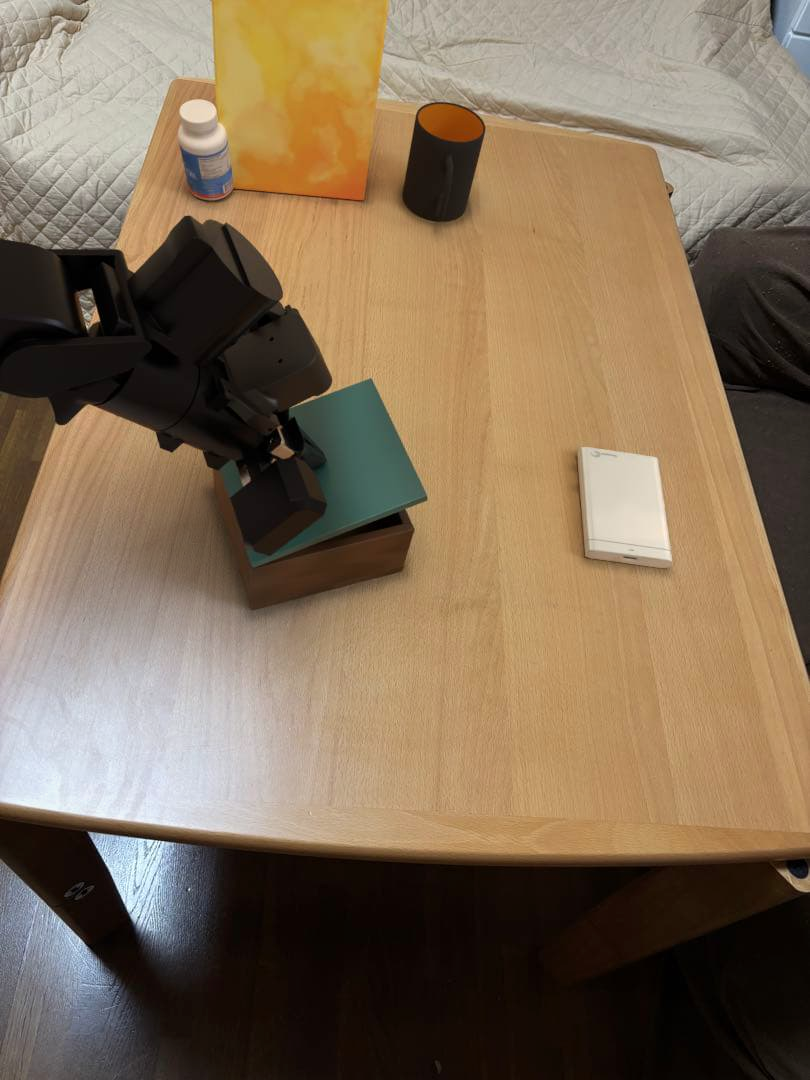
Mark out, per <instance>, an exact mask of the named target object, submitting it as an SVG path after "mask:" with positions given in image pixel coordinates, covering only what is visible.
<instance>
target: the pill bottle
mask: <svg viewBox="0 0 810 1080" xmlns="http://www.w3.org/2000/svg"><path fill="white" fill-rule="evenodd" d="M178 110H179V111H178V112H179V119H180V126H179V127H178V130H177V139H178V140H177V141H178V145H179V151H180V154H181V159H182V164H183V168H184V174H185V178H186V182H187V187H188V189H189V192H190V193H191V194H192V195H193V196H194V197H196V198H198V199H200V200H203V201H217V200H218V201H219V200H222V199H224V198H225V197H227V196H228V195H230V194H231V193H232V191H233V186H234V179H233V173H232V167H231V160H230V153H229V146H228V139H227V133H226V130H225V128H224V126H223V125H222V124H220V123H218V116H217V110H216V105H215V104H213V103H212V102H210V101H209V100H206V99H199V98H197V99H191V100H188V101H186V102H184V103H183V104H181V106H180V107H179V109H178Z"/></svg>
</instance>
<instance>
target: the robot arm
mask: <svg viewBox="0 0 810 1080" xmlns="http://www.w3.org/2000/svg"><path fill="white" fill-rule="evenodd" d="M89 289H91V292H92V296H93V301H94V303H95V307H96V311H97V316H98V318H99V319H98V320H99V321H96V322H93V323H92V324H91V325H90V326H89V327H88V328H87V324H86V320H85V317H84V313H83V309H82V304H81V301H80V296H79V292H82V291H86V290H89ZM283 298H284V292H283V287H282V284H281V282H280V280H279V278H278V276H277V274H276V273H275V271H274V270H273V268H272V266H271V265H270V264H269V262H268V261H267V260H266V259H265V257H264V256H263V255H262V253H261V252H260V251H259V250H258V249H257V247H256V246H254V244H252V243H251V241H249V239H248V238H246V237H245V236H244V235H243V234H242V233H241V232H240V231H239V230H238V229H236V228H235V227H234V226H232V225H231V224H229V223H228V222H225V223H224V224H223V223H221V222H220V221H217V220H216V219H212V218H211V219H210V218H209V219H206V220H204V222H203V223H202V222H200V221H199V220H197V219H196V218H194V217H193V216H192V215H184V216H183V217H182V218H181V219H180V220H179V221H178V222H177V223H176V224H175V225H174V226H173V228H171V230H170V231H169V233H168V235H167V236H166V238H165V239H164V241H163V242H162V244H160V246H158V248H157V249H156V250H155V251H154V252H153V253H152V254H151V255H150V256H149V257H148V259H146V260H145V261H144V263H142V264H141V266H139V268H137V269H136V270H135V272H134V271H132V270H130V269H129V266H128V264H127V260H126V256H125V254H124V252H123V251H122V250H120V249H117V248H114V249H112V248H111V249H108V248H102V249H101V248H45V247H42V246H40V245H36V244H33V243H28V242H22V241H16V240H10V239H4V238H0V393H2V394H5V395H9V396H14V397H18V398H25V399H26V398H27V399H42V398H47V400H48V401H49V404H50V406H51V409H52V410H51V411H52V415H53V419H54V423H55V424H56V425H58V426H65V425H68V424H69V423H70V422H71V421H72V420H73V419H74V418H75V417H76V416H77V415H78V414H79V413H80V412H81V411H82V410H83V409H84V408H85V407H87V406H88V405H90V406H92V407H95V408H97V409H99V410H102V411H104V412H107V413H109V414H112V415H114V416H117V417H119V418H121V419H124V420H126V421H129V422H131V423H134V424H136V425H137V426H141V427H143V428H146V429H148V430H149V431H150V430H151V431H153V432H155V436H156V439H157V443H158V446H159V449H162V450H164V451H166V452H169V453H171V454H173V453H174V452H175V451H177V449H179V448H180V447H181V446H182V445H183V444H184V445H187V446H188V447H189V446H190V447H191V448H194V449H196V450H198V451H201V452H202V455H203V458H204V461H205V464H206V467H207V468H210V469H212V470H213V469H214V470H217V471H218V470H220V469H221V468H222V467H223V466H224V465H225V464H227V463H228V462H229V461H230V460H233V461H235V464H236V467H237V470H238V473H239V476H240V479H241V481H242V484H243V487H242V488H241V489H240V490H239V491H238V492H236V493H235V494H234V495H233V496H231V497H230V509H231V512H232V515H233V518H234V521H235V524H236V527H237V530H238V533H239V537H240V540H241V543H242V546H243V548H244V549H247V550H251V551H254V552H257V553H261V554H264V555H267V556H271V555H273V554H274V553H275V552H276V551H278V550H279V549H280V548H282V547H283V546H284V545H286V544H287V543H288V542H290V541H291V540H292V539H294V538H295V537H296V536H297V535H299V534H300V533H301V532H303V531H304V530H305V529H307V528H308V527H309V526H311V525H312V524H313V523H315V522H316V521H317V520H318V519H320V518H321V517H322V516H324V514H325V510H326V507H327V501H326V499H325V496H324V494H323V491H322V489H321V486H320V484H319V481H318V479H317V476H316V474H315V473H314V472H313V469H318V468H320V467H321V466H322V465H324V464H325V463H326V462H327V459H326V457H325V454H324V453H323V451H322V450H321V449H320V448H319V447H318V446H317V445H316V444H315V443H314V442H313V440H312V439H311V438H310V437H309V436H308V435H307V434H306V433H305V432H304V431H303V429H302V428H301V427H300V426H299V425H298V423H297V420H296V418H295V416H294V417H291V416H290V415H289V408H292V407H294V406H297V405H300V404H302V403H304V401H307V400H309V399H311V398H313V397H320V396H322V395H323V394H326V393H327V391H329V389H330V388H331V386H332V384H333V377H332V374H331V372H330V369H329V368H328V366H327V365H328V364H327V363H326V361H325V359H324V356H323V354H322V351H321V349H320V347H319V345H318V343H317V341H316V339H315V338H314V336H313V335H312V332H311V331H310V328H309V327H308V326H307V324H306V322H305V320H304V319H303V317H302V316H301V313H300V311H299V309H298V308H295V307H292V306H291V304H287V305H285V306H284V305H283V304H282V302H281V301H282V299H283Z"/></svg>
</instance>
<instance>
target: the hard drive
mask: <svg viewBox="0 0 810 1080" xmlns="http://www.w3.org/2000/svg"><path fill="white" fill-rule="evenodd" d="M576 456H577V457H576V458H577V469H578V470H577V471H578V472H577V473H578V483H579V496H580V506H581V507H580V508H581V521H582V532H583V543H584V544H583V545H584V557H586V558H588V559H594V560H600V561H606V562H607V561H608V562H614V563H623V564H629V565H637V566H643V567H650V568H657V569H668V568H669V567H670V566H671V565H672V564H673V555H672V548H671V541H670V535H669V527H668V520H667V513H666V506H665V499H664V494H663V493H664V492H663V486H662V485H663V484H662V478H661V472H660V465H659V459H658V458H657V457H656V456H652V455H645V454H639V453H631V452H625V451H619V450H618V451H617V450H612V449H603V448H597V447H592V446H591V447H590V446H581V447H580V448H579V450H578V451H577V453H576Z"/></svg>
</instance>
